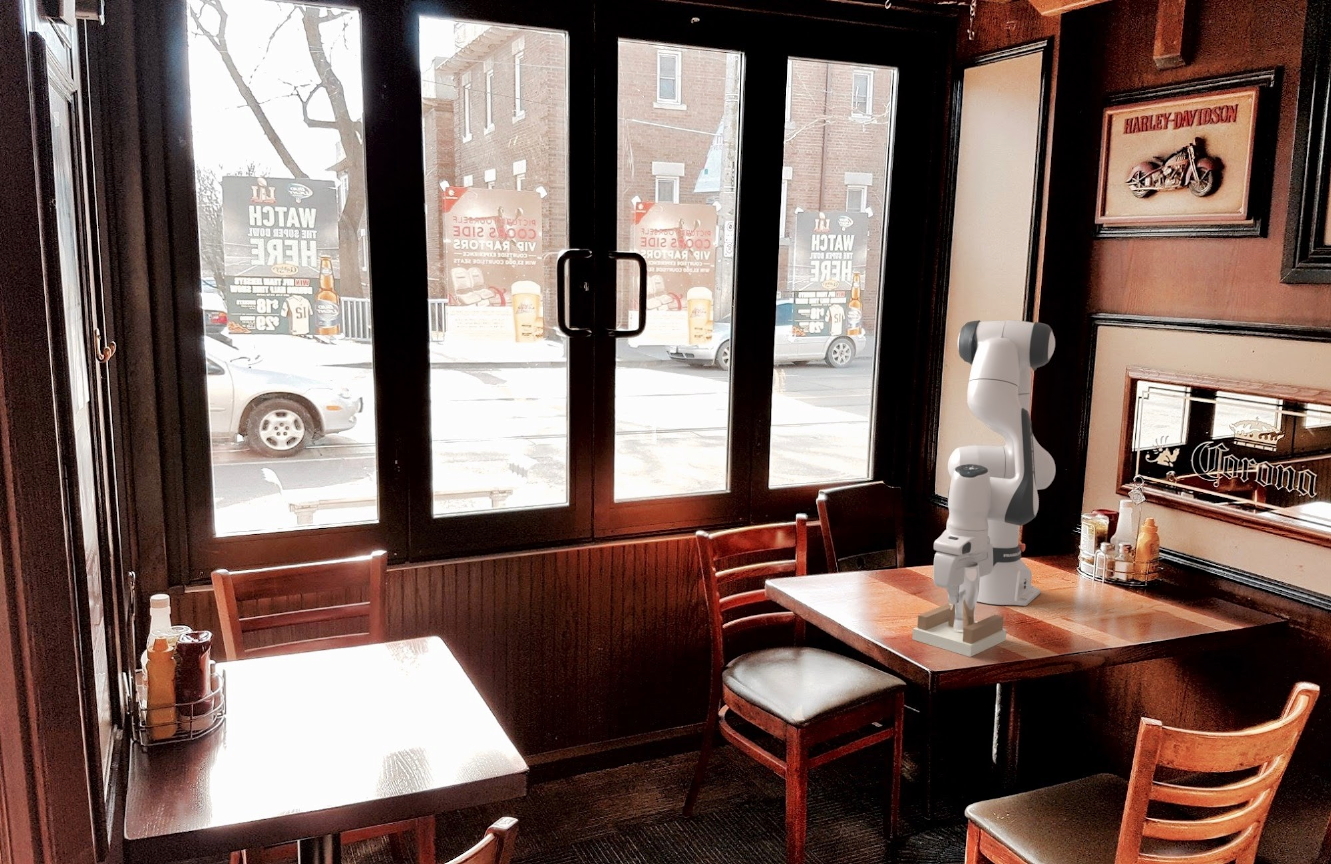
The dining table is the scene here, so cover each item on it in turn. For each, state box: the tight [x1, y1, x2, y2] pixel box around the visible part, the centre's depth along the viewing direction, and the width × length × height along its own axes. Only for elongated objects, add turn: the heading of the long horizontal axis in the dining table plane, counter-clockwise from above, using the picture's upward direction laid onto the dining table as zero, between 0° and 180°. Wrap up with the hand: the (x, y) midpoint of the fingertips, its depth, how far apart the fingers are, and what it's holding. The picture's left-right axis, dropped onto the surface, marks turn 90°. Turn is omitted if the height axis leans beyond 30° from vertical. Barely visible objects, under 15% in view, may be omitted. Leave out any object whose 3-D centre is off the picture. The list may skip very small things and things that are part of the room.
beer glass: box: [947, 562, 980, 633], centre depth 218 cm, size 7×7×15 cm
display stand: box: [911, 603, 1008, 658], centre depth 219 cm, size 16×14×6 cm
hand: (962, 600), depth 218 cm, fingers closed on beer glass, 6 cm apart
